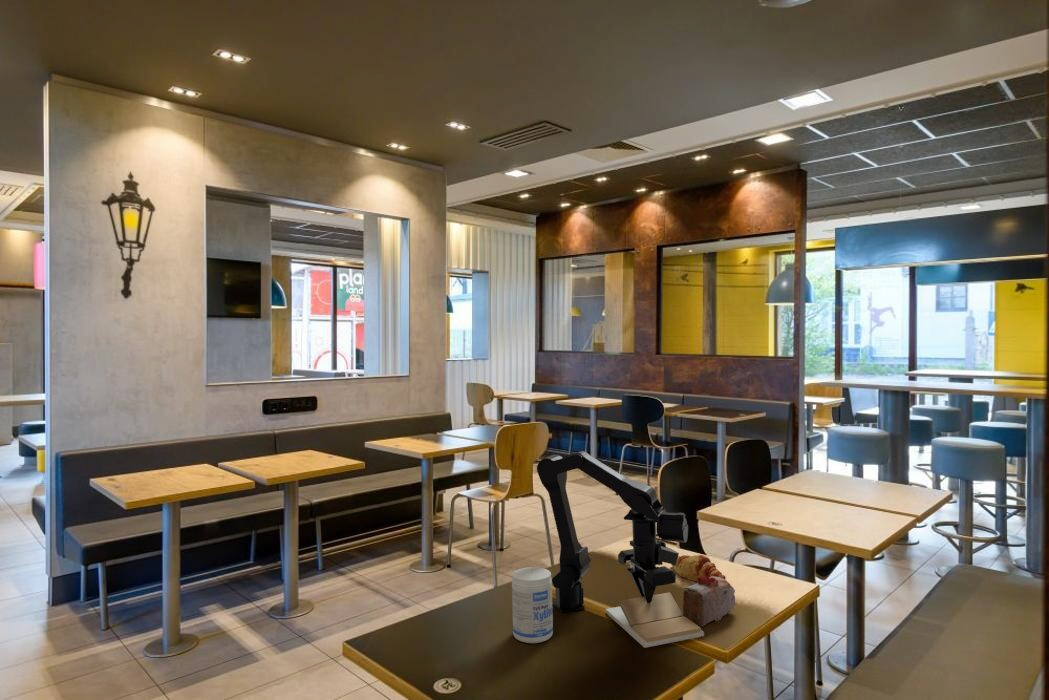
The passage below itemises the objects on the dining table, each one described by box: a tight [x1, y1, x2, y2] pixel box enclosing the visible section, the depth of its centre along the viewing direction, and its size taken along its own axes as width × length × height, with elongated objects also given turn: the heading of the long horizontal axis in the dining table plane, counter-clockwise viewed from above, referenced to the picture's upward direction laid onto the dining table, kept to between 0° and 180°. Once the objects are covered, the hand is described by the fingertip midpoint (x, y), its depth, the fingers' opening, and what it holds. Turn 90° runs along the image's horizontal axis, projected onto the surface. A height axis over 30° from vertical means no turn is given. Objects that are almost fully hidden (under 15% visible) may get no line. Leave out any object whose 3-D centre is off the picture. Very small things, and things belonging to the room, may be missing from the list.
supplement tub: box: [511, 566, 554, 644], centre depth 149 cm, size 10×10×15 cm
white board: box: [605, 606, 705, 649], centre depth 153 cm, size 16×20×2 cm
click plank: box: [618, 592, 684, 628], centre depth 153 cm, size 14×7×1 cm, turn 108°
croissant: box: [670, 554, 727, 583], centre depth 183 cm, size 21×10×8 cm, turn 31°
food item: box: [682, 576, 736, 628], centre depth 156 cm, size 14×8×10 cm, turn 132°
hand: (646, 600), depth 156 cm, fingers closed
